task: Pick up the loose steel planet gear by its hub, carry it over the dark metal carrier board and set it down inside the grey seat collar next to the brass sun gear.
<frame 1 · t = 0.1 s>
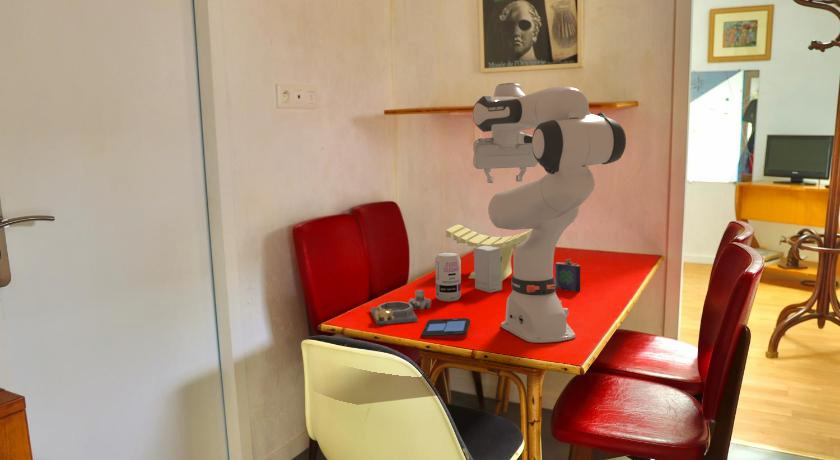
hand: (504, 182, 202), 39 cm above the table, tool pointing down, fingers open, 8 cm apart
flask: (567, 290, 223), on the table
skincare box: (487, 290, 225), on the table
game console: (446, 332, 184), on the table
planet gear: (419, 306, 207), on the table
supplement can: (448, 299, 215), on the table
carrier board: (393, 316, 197), on the table
slatted curved stool: (491, 275, 246), on the table
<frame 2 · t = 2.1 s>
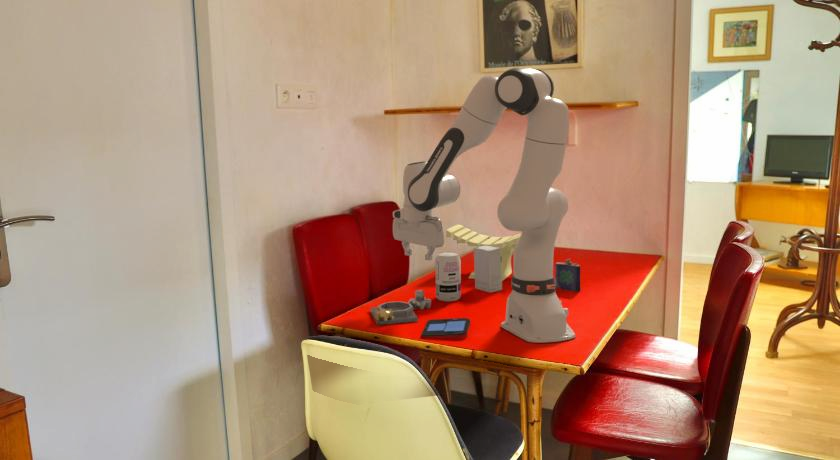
hand: (418, 257, 205), 16 cm above the table, tool pointing down, fingers open, 8 cm apart
nothing on the table moved.
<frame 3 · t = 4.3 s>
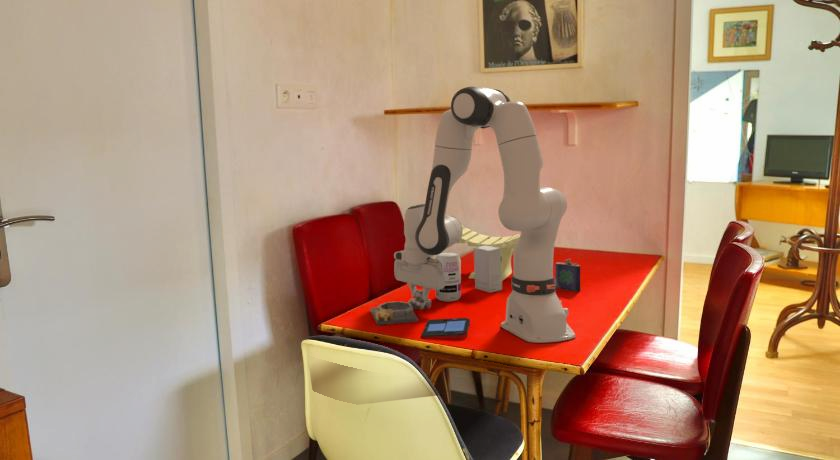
hand: (419, 298, 207), 3 cm above the table, tool pointing down, fingers closed on planet gear, 3 cm apart
planet gear: (419, 306, 207), on the table, touching gripper
everything else where it was.
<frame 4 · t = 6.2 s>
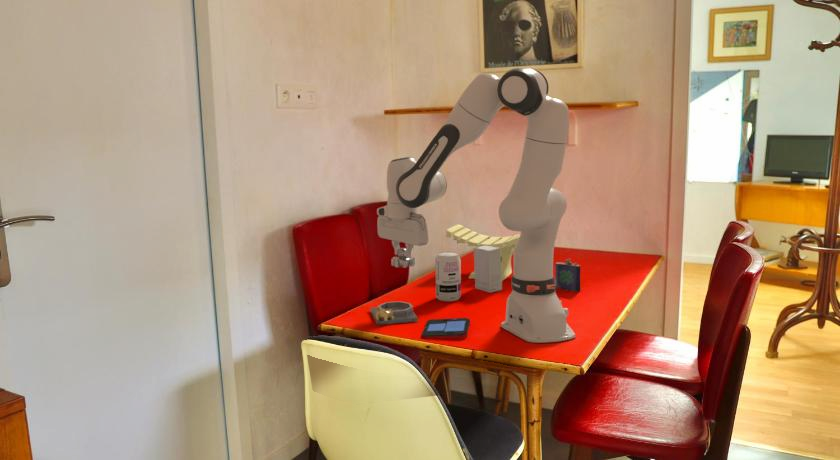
hand: (402, 255, 200), 17 cm above the table, tool pointing down, fingers closed on planet gear, 3 cm apart
planet gear: (403, 264, 200), point 15 cm above the table, touching gripper
everything else where it was.
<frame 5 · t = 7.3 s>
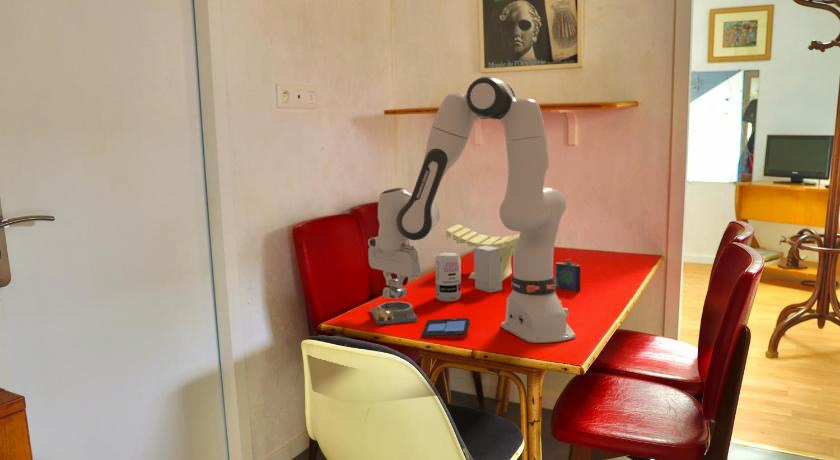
hand: (394, 286, 198), 9 cm above the table, tool pointing down, fingers closed on planet gear, 3 cm apart
planet gear: (394, 295, 199), point 6 cm above the table, touching gripper
everything else where it was.
when the fingers open (5 cm above the table, at t = 8.2 s): planet gear drops 1 cm, resting on carrier board.
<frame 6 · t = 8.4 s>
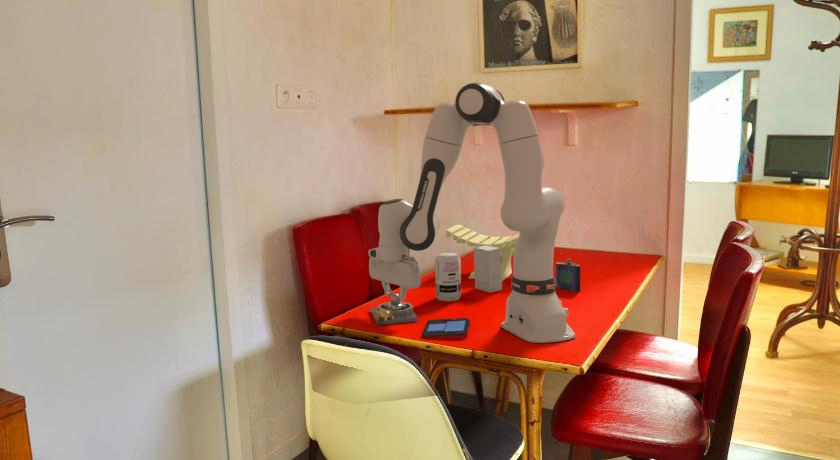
hand: (395, 297, 199), 5 cm above the table, tool pointing down, fingers open, 5 cm apart
planet gear: (395, 310, 199), point 1 cm above the table, touching carrier board
everything else where it was.
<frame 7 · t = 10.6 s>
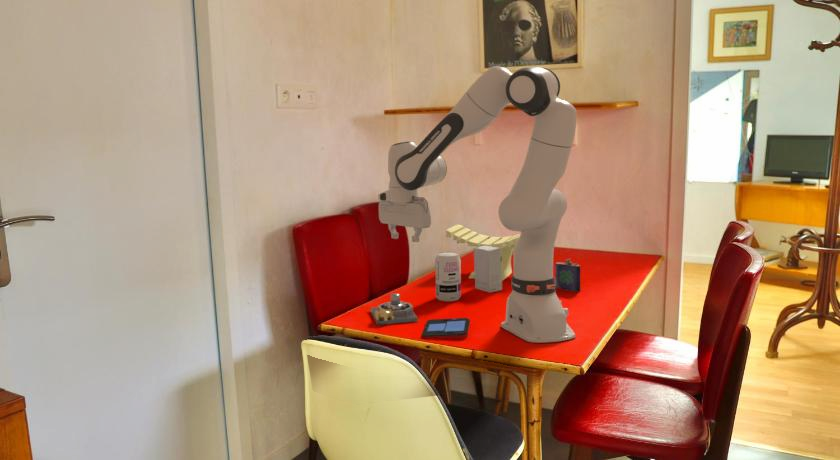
hand: (405, 240, 201), 22 cm above the table, tool pointing down, fingers open, 8 cm apart
nothing on the table moved.
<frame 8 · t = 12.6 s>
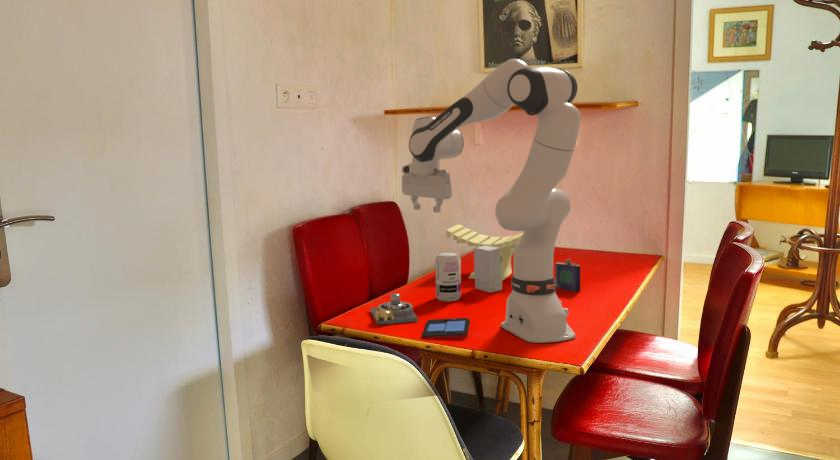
hand: (426, 210, 212), 29 cm above the table, tool pointing down, fingers open, 8 cm apart
nothing on the table moved.
at the end: planet gear 0.1 cm from the target spot on the carrier board, point 1.2 cm above the carrier board's base; planet gear tilted 0°; the gripper is holding nothing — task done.
